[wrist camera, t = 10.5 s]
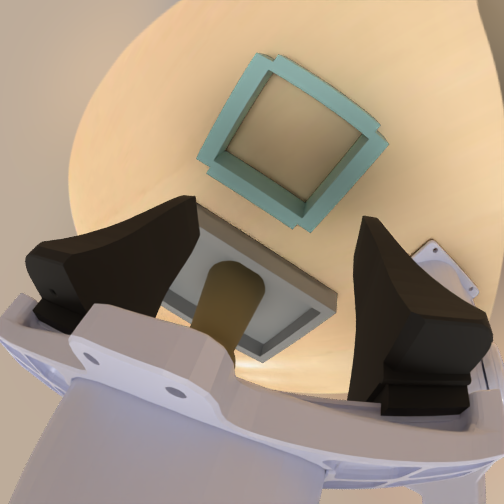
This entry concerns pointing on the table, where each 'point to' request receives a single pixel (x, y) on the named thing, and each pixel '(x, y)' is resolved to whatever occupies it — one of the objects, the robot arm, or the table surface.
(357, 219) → the table surface
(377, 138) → the teal collar
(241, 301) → the cork
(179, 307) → the charcoal tray
